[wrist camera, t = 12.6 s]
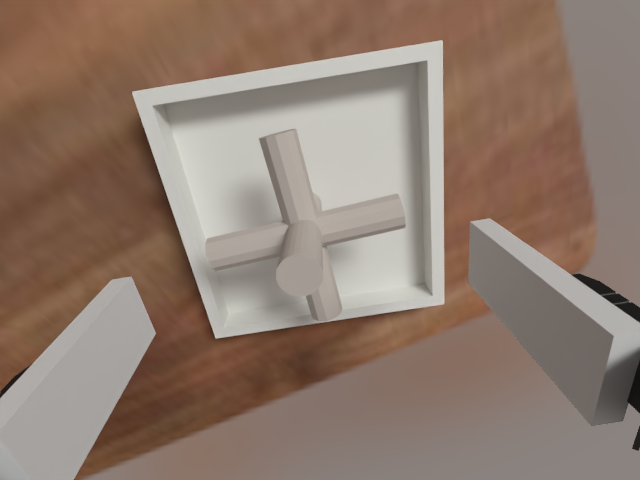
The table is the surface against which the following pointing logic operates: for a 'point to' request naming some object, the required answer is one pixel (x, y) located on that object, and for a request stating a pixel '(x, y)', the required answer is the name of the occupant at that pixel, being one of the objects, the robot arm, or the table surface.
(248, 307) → the tray
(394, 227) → the pipe connector
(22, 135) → the table surface
